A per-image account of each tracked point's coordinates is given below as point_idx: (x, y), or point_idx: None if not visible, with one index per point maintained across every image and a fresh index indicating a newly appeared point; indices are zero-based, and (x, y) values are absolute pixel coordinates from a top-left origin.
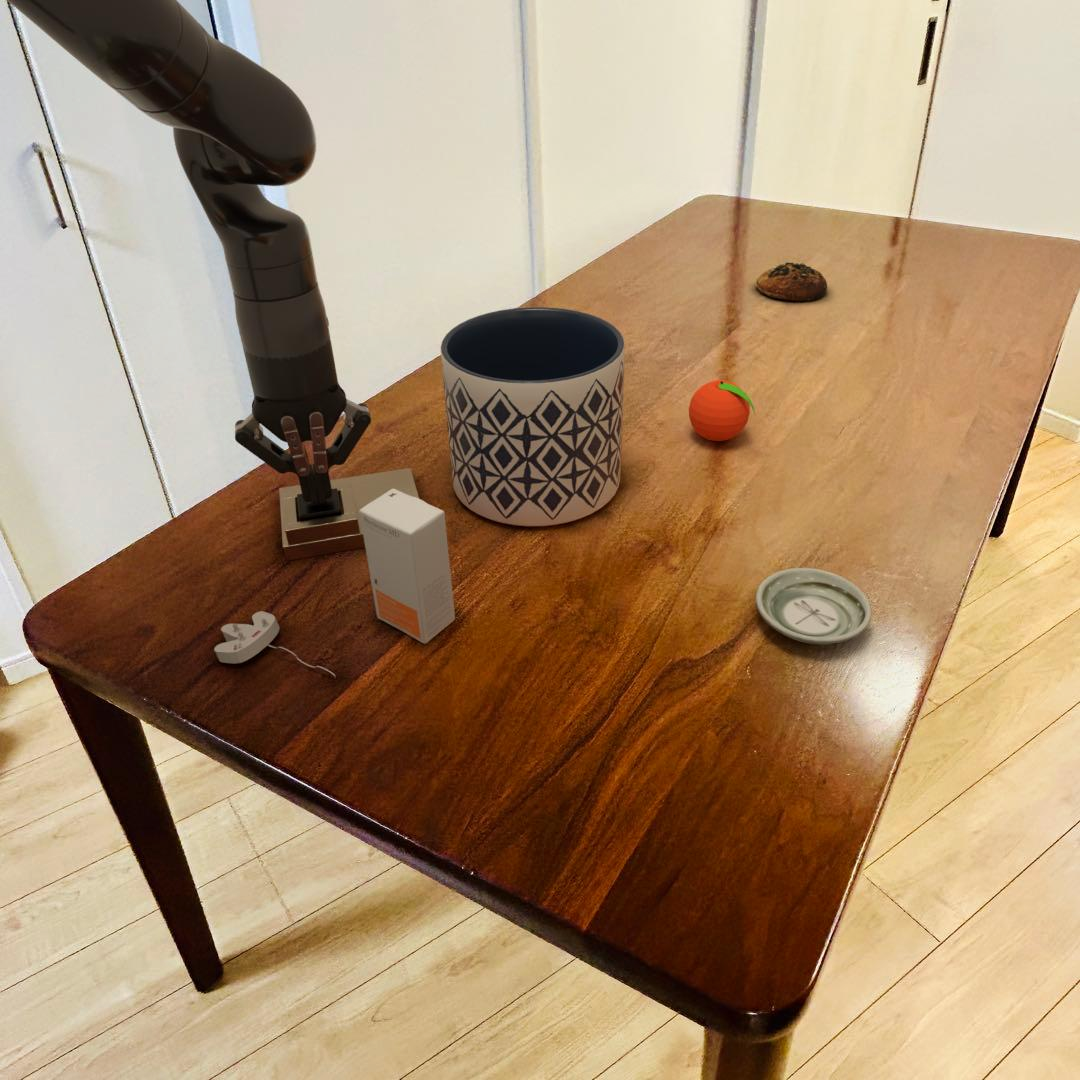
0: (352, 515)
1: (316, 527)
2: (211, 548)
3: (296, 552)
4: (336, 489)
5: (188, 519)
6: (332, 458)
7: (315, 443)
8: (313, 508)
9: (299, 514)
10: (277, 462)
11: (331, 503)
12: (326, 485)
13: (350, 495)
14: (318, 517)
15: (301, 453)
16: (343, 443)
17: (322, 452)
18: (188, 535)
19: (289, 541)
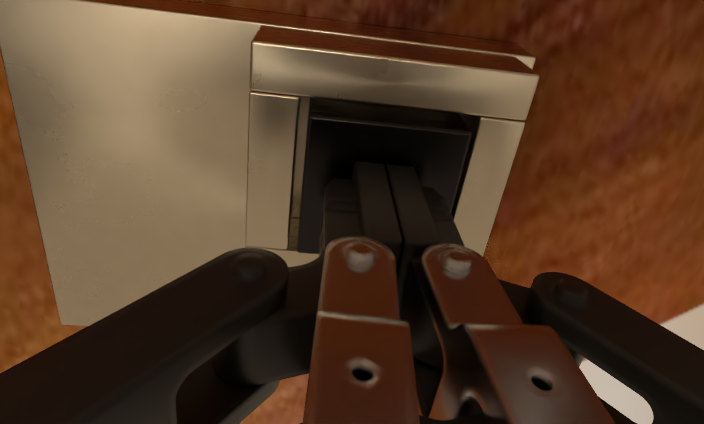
0: (268, 73)
1: (420, 59)
2: (670, 191)
3: (487, 44)
4: (300, 244)
5: (660, 321)
6: (286, 289)
7: (389, 373)
8: (408, 158)
9: (467, 141)
10: (608, 325)
11: (335, 166)
12: (343, 212)
13: (256, 207)
14: (397, 117)
15: (489, 329)
16: (179, 346)
17: (343, 313)
18: (691, 264)
19: (515, 61)
